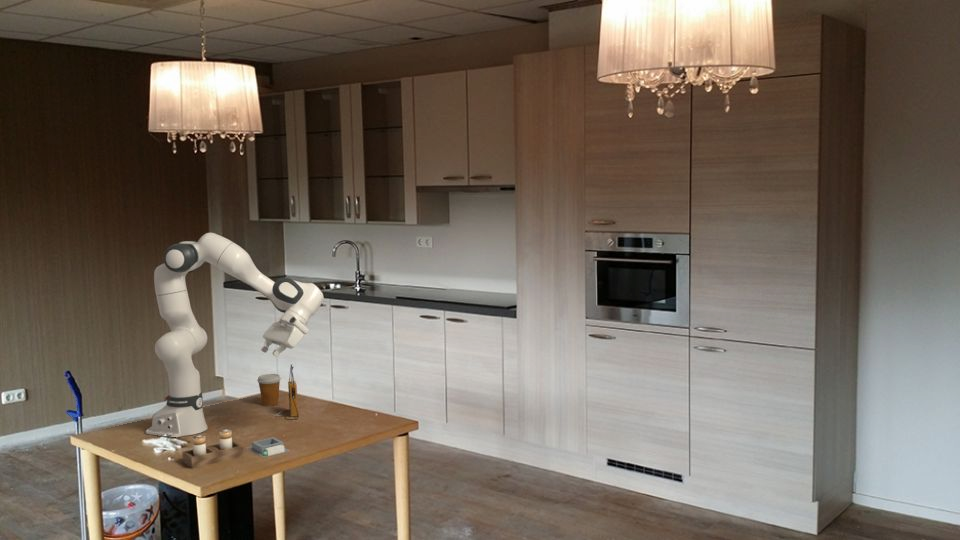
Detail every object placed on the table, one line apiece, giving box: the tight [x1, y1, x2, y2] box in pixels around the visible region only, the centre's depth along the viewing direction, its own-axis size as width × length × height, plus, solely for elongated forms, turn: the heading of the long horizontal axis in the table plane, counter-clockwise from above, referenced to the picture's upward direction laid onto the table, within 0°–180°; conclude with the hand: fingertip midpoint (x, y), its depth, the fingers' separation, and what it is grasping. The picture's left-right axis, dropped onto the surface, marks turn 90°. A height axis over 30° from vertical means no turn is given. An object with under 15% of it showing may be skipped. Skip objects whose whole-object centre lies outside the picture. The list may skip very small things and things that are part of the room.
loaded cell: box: [192, 434, 207, 456], centre depth 278 cm, size 4×4×9 cm
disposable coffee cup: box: [256, 373, 282, 407], centre depth 353 cm, size 10×10×12 cm
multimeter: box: [274, 363, 299, 421], centre depth 334 cm, size 15×10×20 cm
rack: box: [182, 440, 245, 469], centre depth 282 cm, size 18×8×4 cm, turn 129°
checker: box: [246, 436, 291, 458], centre depth 290 cm, size 10×14×4 cm
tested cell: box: [218, 429, 233, 450], centre depth 284 cm, size 4×4×9 cm
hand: (268, 353), depth 303 cm, fingers open, 8 cm apart
